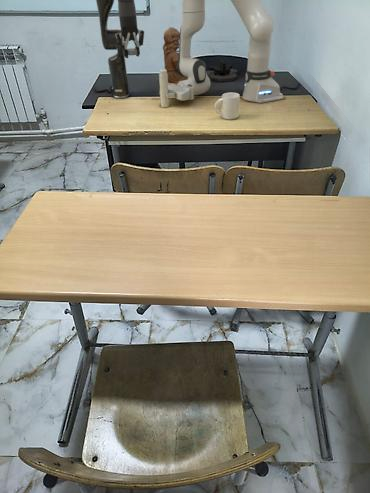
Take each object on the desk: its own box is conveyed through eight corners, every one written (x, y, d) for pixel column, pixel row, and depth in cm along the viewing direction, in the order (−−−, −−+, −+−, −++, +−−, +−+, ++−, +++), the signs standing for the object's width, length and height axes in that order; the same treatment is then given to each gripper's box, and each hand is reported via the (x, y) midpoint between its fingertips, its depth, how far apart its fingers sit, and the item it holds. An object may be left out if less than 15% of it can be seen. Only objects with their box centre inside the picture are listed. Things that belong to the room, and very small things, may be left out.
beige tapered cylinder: (166, 104, 194) (164, 68, 183) (170, 106, 191) (168, 70, 180) (159, 105, 192) (157, 70, 181) (163, 107, 190) (161, 71, 178)
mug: (215, 121, 173) (216, 99, 166) (212, 114, 179) (213, 93, 173) (240, 119, 174) (241, 97, 167) (235, 113, 180) (237, 91, 174)
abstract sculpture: (205, 66, 215) (198, 59, 231) (204, 82, 221) (198, 74, 236) (245, 63, 218) (236, 56, 233) (243, 79, 224) (235, 71, 239)
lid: (126, 55, 165) (126, 51, 164) (126, 53, 169) (125, 48, 167) (137, 55, 165) (137, 50, 164) (136, 52, 169) (136, 48, 168)
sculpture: (197, 88, 213) (196, 30, 194) (156, 89, 214) (152, 31, 194) (196, 75, 234) (196, 22, 215) (159, 76, 235) (156, 23, 215)
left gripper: (115, 16, 152) (121, 60, 163) (145, 13, 157) (149, 56, 168) (109, 15, 157) (115, 57, 168) (138, 11, 162) (142, 53, 173)
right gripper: (173, 79, 198) (151, 83, 192) (195, 87, 185) (173, 92, 179) (173, 90, 202) (152, 96, 196) (195, 100, 189) (173, 105, 183)
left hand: (132, 56), depth 168 cm, fingers closed on lid, 5 cm apart
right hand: (162, 94), depth 188 cm, fingers closed on beige tapered cylinder, 4 cm apart
